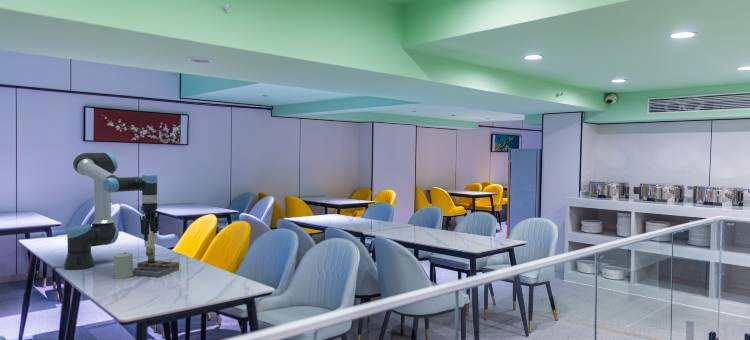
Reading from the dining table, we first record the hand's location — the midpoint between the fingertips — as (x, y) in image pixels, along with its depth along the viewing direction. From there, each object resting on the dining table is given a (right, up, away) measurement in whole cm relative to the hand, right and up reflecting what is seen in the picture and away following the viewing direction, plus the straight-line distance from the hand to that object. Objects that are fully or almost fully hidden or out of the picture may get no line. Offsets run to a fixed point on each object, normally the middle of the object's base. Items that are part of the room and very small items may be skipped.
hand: (149, 245), depth 283 cm
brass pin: (0, -5, 0) cm, 5 cm away
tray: (0, -15, +1) cm, 15 cm away
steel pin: (-4, -15, +12) cm, 20 cm away
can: (-12, -15, -5) cm, 20 cm away
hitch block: (0, -15, +11) cm, 18 cm away
